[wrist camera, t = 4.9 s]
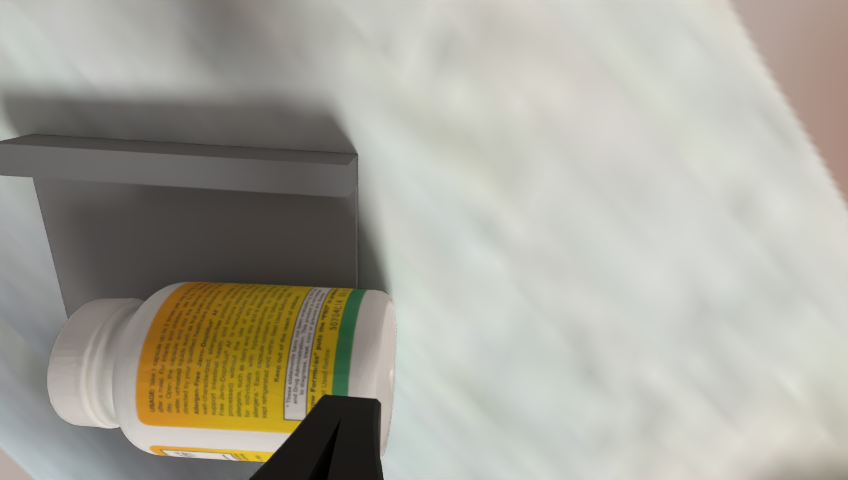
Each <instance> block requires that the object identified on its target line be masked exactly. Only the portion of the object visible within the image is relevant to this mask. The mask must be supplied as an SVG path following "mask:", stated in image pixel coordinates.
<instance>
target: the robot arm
mask: <svg viewBox="0 0 848 480" xmlns="http://www.w3.org/2000/svg"><path fill="white" fill-rule="evenodd" d="M380 442H381V402H380V401H379V400H378V399H375V398H363V397H351V396H339V395H327V394H325V395H323V396H322V397H321V398H320V399H319V400H318V402H317V403H316V404H315V406H314V407H313V408H312V409H311V411H310V412H309V413H308V414H307V416H306V417H305V418H304V419H303V421H302V422H301V423H300V424H299V425H298V427H297V428H296V429H295V430H294V431H293V433H292V434H291V435H290V436H289V437H288V438H287V439H286V441H285V442H284V443H283V444H282V445H281V446H280V447H279V448H278V449H277V451H276V452H275V453H274V454H273V455H272V456H271V457H270V458H269V459H268V460H267V462H266V463H265V464H264V465H263V466H262V467H261V468H260V469H259V470H258V471H257V472H256V473H255V474H254V475H253V476H252V477H251V478H250V479H249V480H384V478H383V472H382V465H381V458H380Z"/></svg>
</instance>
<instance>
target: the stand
mask: <svg viewBox="0 0 848 480" xmlns="http://www.w3.org/2000/svg"><path fill="white" fill-rule="evenodd" d="M0 175H4V176H20V177H33V181H34V185H35V189H36V193H37V197H38V201H39V205H40V209H41V213H42V217H43V221H44V225H45V229H46V233H47V237H48V241H49V245H50V249H51V253H52V257H53V261H54V265H55V269H56V273H57V277H58V281H59V285H60V289H61V293H62V297H63V301H64V305H65V309H66V313H67V317H68V319H69V318H70V317H71V315H72V314H73V313H74V312H76V311H77V310H78V309H79V308H80V307H82V306H83V305H85V304H86V303H89V302H91V301H94V300H98V299H105V298H136V299H141V300H143V301H146V300H147V299H148V298H149V297H151V296H152V295H153V294H154V293H156V292H157V291H159V290H161V289H163V288H165V287H167V286H169V285H172V284H176V283H181V282H212V283H241V284H265V285H285V286H305V287H325V288H349V289H358V154H347V153H331V152H314V151H298V150H282V149H265V148H249V147H233V146H216V145H200V144H183V143H167V142H151V141H134V140H118V139H101V138H85V137H69V136H52V135H36V134H31V135H26V136H22V137H17V138H12V139H8V140H3V141H0Z"/></svg>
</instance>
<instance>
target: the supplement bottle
mask: <svg viewBox="0 0 848 480" xmlns="http://www.w3.org/2000/svg"><path fill="white" fill-rule="evenodd" d="M395 358H396V317H395V311H394V304H393V301H392V299H391V297H390V296H389V295H388V294H386V293H385V292H383V291H378V290H366V289H349V288H325V287H305V286H285V285H265V284H241V283H212V282H181V283H176V284H172V285H169V286H167V287H165V288H163V289H161V290H159V291H157V292H156V293H154V294H153V295H152V296H151V297H149V298H148V299H147V300H146V301H143V300H141V299H136V298H105V299H98V300H94V301H91V302H89V303H86V304H85V305H83V306H82V307H80V308H79V309H78V310H77V311H76V312H74V313H73V314H72V315H71V317H70V318H69V319H68V320H67V321H66V323H65V324H64V326H63V327H62V329H61V331H60V333H59V334H58V336H57V338H56V341H55V343H54V345H53V348H52V351H51V355H50V359H49V365H48V372H47V388H48V394H49V399H50V402H51V404H52V406H53V408H54V410H55V411H56V413H57V414H58V415H59V416H60V417H61V418H62V419H63V420H65V421H66V422H68V423H71V424H73V425H78V426H92V427H101V428H108V429H112V428H117V427H120V428H121V429H122V431H123V433H124V434H125V436H126V437H127V438H128V439H129V441H130V442H132V443H133V444H134V445H135V446H136V447H138V448H139V449H141V450H143V451H145V452H148V453H151V454H155V455H163V456H176V457H189V458H206V459H222V460H236V461H256V462H267V460H268V459H269V458H270V457H271V456H272V455H273V454H274V453H275V452H276V451H277V449H278V448H279V447H280V446H281V445H282V444H283V443H284V442H285V441H286V439H287V438H288V437H289V436H290V435H291V434H292V433H293V431H294V430H295V429H296V428H297V427H298V425H299V424H300V423H301V422H302V421H303V419H304V418H305V417H306V416H307V414H308V413H309V412H310V411H311V409H312V408H313V407H314V406H315V404H316V403H317V402H318V400H319V399H320V398H321V397H322V396H323V395H325V394H327V395H339V396H351V397H363V398H375V399H378V400H379V401H380V402H381V442H380V458H381V459H382V458H383V456H384V454H385V451H386V447H387V443H388V437H389V432H390V425H391V418H392V409H393V397H394V388H395Z"/></svg>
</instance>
